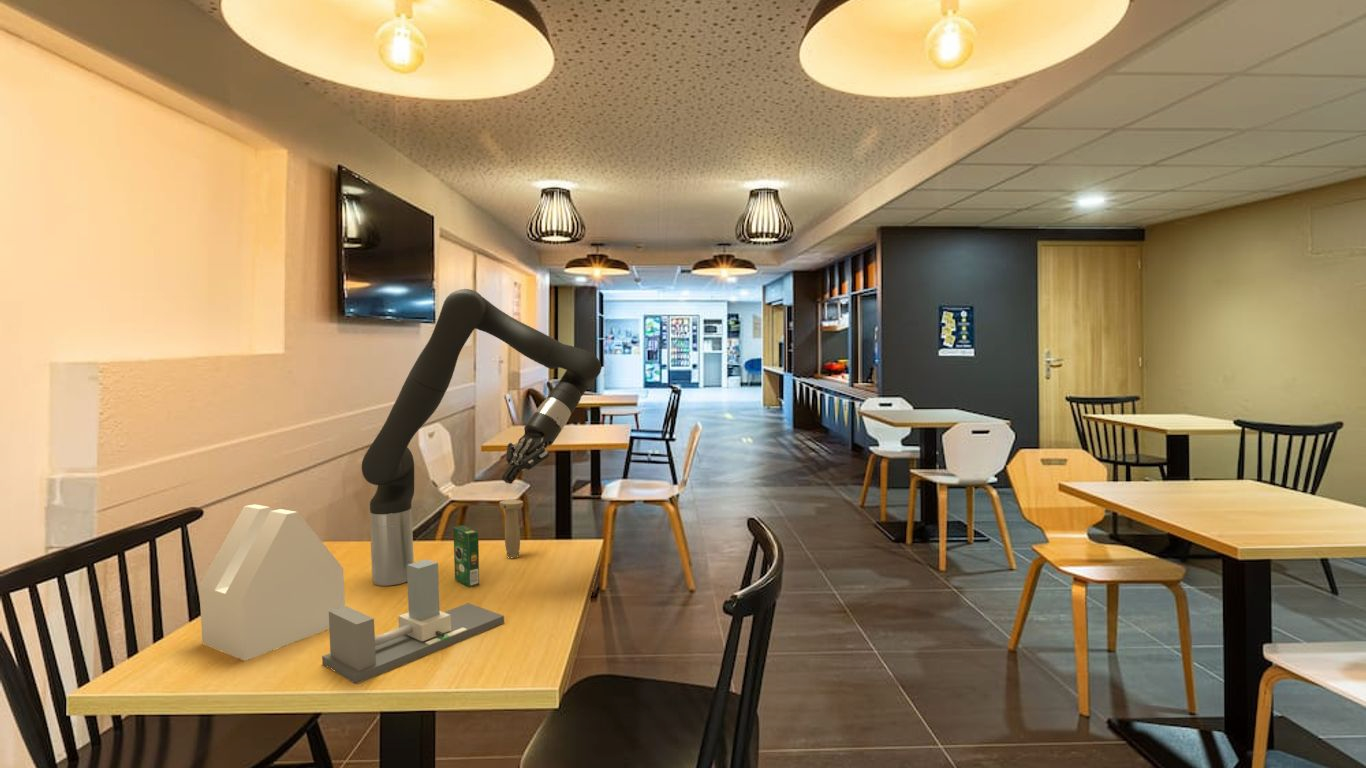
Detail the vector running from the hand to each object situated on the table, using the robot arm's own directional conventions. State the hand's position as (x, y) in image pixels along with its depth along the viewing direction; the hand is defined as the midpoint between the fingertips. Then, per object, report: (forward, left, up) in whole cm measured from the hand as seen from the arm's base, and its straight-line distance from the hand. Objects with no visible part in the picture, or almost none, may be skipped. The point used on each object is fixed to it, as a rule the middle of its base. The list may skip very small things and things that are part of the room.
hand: (506, 481), depth 146 cm
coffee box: (-17, +1, -26) cm, 31 cm away
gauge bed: (+4, -24, -26) cm, 36 cm away
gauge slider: (+5, -27, -24) cm, 37 cm away
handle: (-24, +20, -26) cm, 41 cm away
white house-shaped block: (-24, -38, -27) cm, 52 cm away
